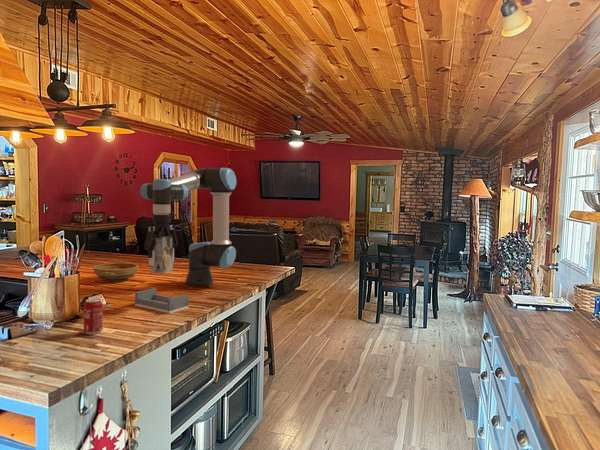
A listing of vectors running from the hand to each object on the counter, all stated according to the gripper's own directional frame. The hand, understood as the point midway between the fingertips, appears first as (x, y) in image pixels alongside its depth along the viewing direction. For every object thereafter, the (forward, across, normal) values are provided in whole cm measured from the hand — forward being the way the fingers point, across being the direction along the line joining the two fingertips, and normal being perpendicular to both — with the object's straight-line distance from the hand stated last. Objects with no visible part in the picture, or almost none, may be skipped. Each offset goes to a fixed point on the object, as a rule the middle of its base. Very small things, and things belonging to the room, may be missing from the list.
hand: (161, 263), depth 196 cm
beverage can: (+20, +38, +7) cm, 44 cm away
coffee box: (+4, 0, 0) cm, 4 cm away
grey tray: (+20, 0, 0) cm, 20 cm away
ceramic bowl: (+20, -26, -65) cm, 73 cm away
